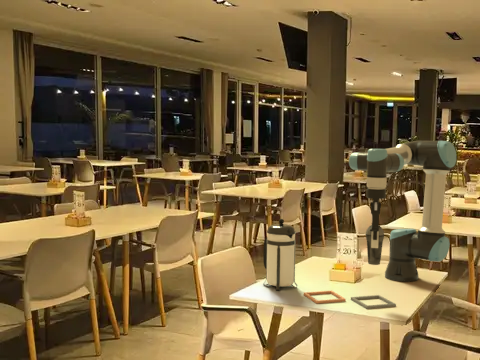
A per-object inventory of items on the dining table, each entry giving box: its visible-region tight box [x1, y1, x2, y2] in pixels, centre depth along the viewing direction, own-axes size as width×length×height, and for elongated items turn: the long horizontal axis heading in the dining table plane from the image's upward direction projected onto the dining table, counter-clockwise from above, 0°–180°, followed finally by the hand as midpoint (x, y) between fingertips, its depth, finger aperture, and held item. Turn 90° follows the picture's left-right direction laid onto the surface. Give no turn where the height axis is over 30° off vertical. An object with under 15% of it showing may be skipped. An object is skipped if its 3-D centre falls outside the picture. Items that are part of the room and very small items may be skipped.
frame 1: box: [303, 290, 347, 304], centre depth 229 cm, size 13×13×1 cm
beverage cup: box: [365, 224, 385, 266], centre depth 222 cm, size 7×7×20 cm
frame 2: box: [350, 294, 397, 310], centre depth 223 cm, size 13×13×1 cm
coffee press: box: [263, 218, 298, 292], centre depth 246 cm, size 17×16×30 cm
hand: (374, 245), depth 222 cm, fingers closed on beverage cup, 7 cm apart
